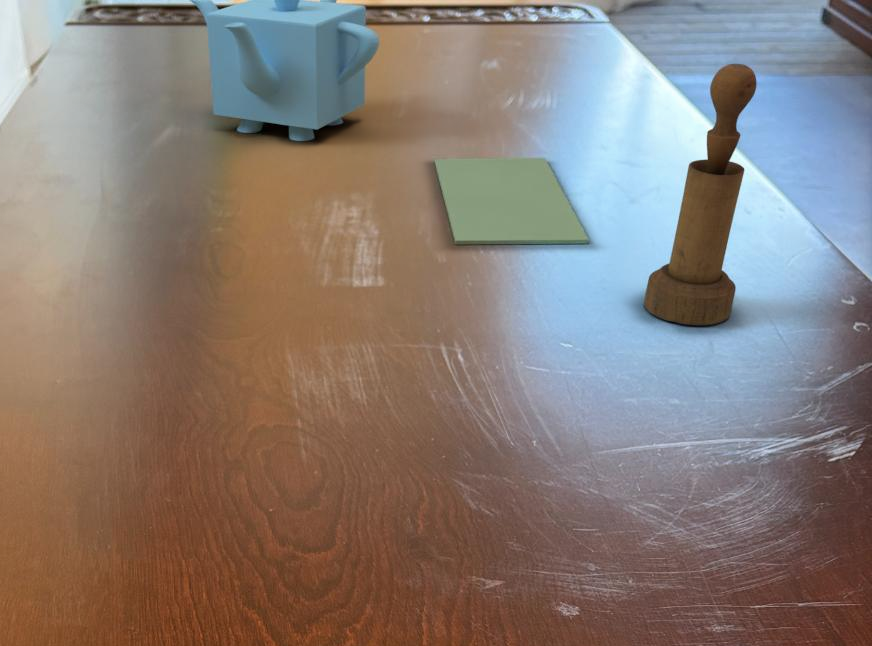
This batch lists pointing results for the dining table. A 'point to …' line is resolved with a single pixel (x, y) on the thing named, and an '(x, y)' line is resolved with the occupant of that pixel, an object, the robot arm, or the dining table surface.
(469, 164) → the mat
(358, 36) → the teakettle
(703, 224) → the mortar and pestle
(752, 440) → the dining table surface
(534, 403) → the dining table surface
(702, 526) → the dining table surface
